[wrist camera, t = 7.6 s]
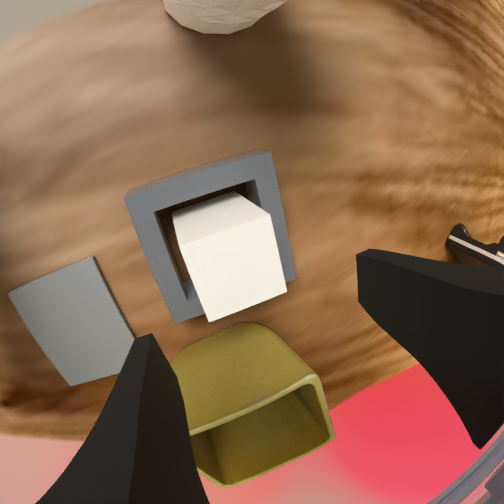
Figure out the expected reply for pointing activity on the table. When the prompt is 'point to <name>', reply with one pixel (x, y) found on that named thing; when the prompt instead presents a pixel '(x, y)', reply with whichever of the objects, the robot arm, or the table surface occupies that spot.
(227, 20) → the white cup
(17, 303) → the mat
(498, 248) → the battery charger
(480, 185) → the table surface
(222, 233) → the plug
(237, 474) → the flower pot
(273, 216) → the socket housing
